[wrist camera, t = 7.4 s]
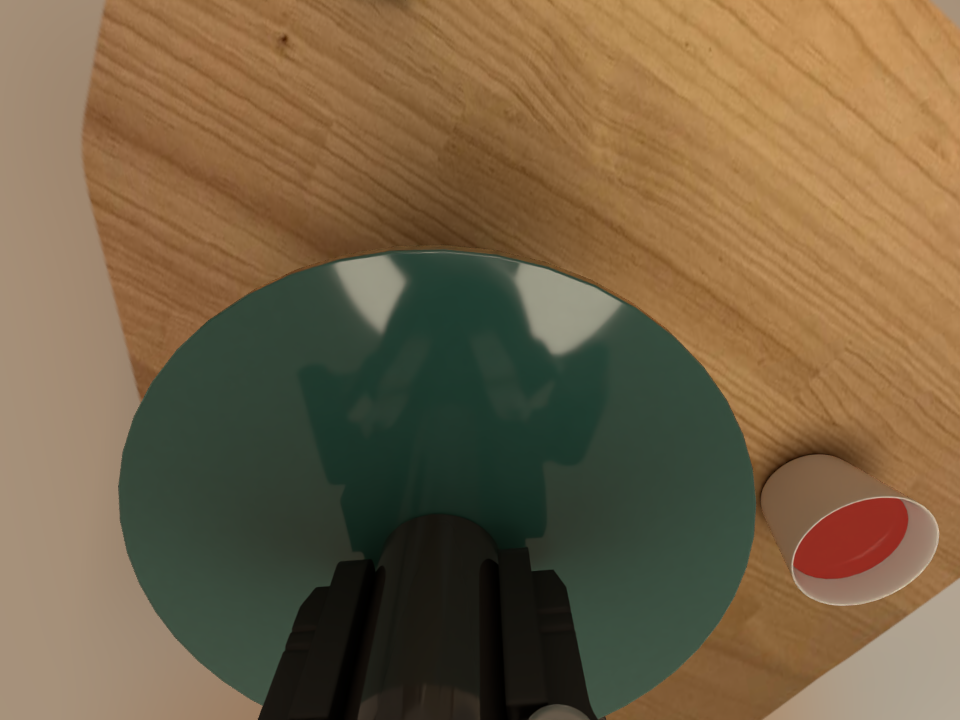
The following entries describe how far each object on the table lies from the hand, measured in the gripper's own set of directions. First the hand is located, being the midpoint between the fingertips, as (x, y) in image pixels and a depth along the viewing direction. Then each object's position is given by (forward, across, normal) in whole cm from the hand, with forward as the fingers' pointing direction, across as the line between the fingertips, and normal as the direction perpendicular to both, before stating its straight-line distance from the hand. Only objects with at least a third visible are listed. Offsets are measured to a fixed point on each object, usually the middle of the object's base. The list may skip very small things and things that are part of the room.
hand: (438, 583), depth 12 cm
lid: (+1, 0, 0) cm, 1 cm away
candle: (+22, -24, +17) cm, 37 cm away
